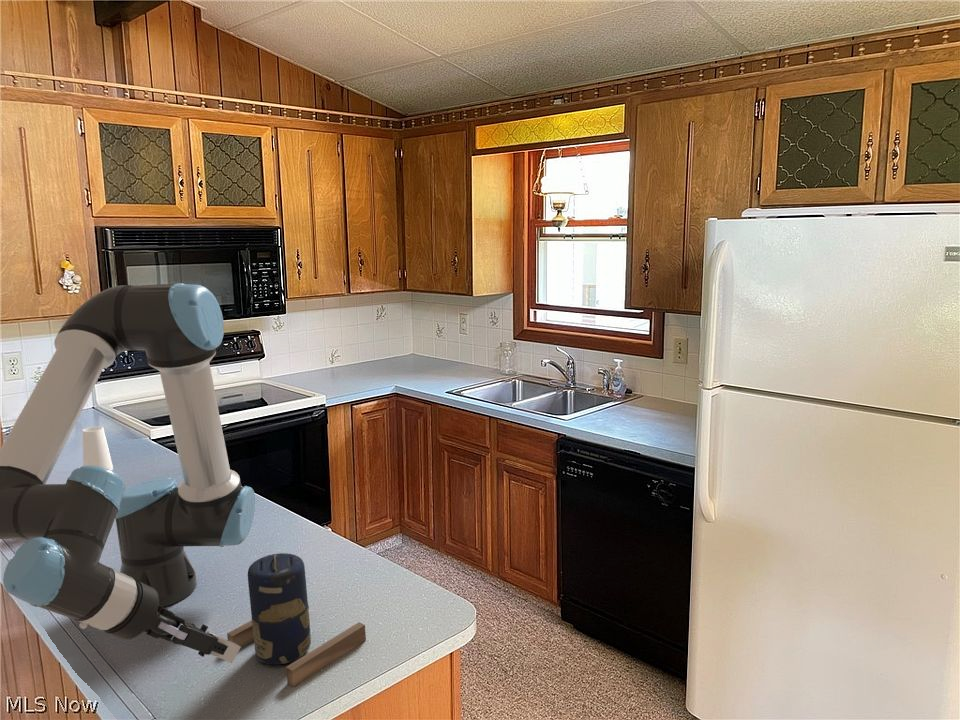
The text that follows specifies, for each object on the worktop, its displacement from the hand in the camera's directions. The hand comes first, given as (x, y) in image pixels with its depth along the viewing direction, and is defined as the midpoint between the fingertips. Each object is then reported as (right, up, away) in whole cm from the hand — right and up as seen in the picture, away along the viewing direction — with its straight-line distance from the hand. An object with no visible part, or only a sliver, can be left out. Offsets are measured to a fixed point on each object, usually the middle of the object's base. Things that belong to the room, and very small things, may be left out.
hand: (233, 653), depth 115 cm
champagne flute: (-58, +7, +69) cm, 90 cm away
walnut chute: (+8, -3, +11) cm, 13 cm away
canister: (+6, -4, +8) cm, 11 cm away
